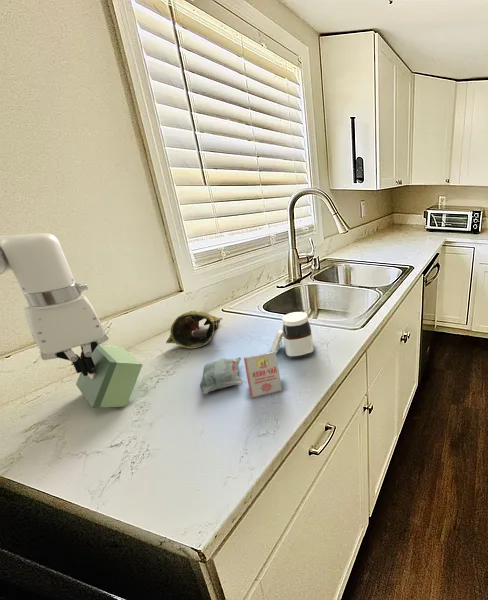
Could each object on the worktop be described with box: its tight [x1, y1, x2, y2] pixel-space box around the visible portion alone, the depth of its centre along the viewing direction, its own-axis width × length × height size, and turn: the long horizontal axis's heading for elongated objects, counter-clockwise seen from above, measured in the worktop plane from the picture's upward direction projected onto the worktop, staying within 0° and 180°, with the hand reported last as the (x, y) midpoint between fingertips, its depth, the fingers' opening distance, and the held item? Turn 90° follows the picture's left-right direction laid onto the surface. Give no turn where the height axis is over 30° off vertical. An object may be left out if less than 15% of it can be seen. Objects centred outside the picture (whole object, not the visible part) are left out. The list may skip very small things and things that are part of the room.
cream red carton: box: [243, 351, 283, 399], centre depth 77 cm, size 4×7×10 cm, turn 113°
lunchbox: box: [75, 344, 144, 408], centre depth 75 cm, size 6×14×10 cm
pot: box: [165, 310, 223, 349], centre depth 103 cm, size 17×11×18 cm
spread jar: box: [270, 311, 314, 360], centre depth 93 cm, size 12×11×12 cm
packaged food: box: [199, 357, 243, 395], centre depth 81 cm, size 9×12×5 cm
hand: (87, 372), depth 72 cm, fingers closed
